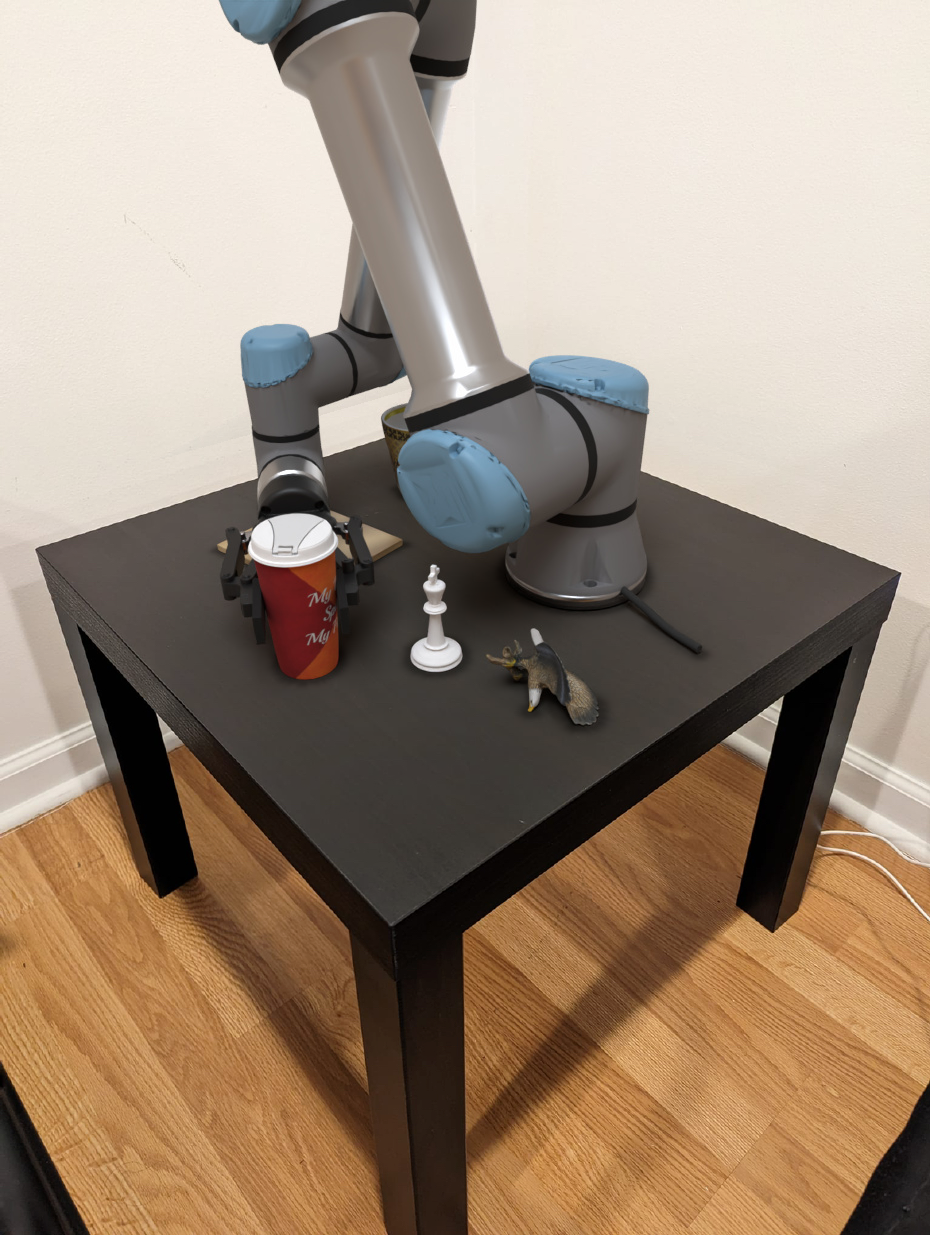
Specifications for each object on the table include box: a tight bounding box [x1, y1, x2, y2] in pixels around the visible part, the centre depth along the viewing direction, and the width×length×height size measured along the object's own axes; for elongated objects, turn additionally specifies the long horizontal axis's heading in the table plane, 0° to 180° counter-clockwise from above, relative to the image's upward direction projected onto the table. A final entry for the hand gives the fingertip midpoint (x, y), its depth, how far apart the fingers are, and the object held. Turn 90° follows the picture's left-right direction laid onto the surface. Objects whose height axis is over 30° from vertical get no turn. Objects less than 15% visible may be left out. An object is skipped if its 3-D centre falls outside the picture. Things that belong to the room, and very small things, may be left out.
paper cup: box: [248, 514, 340, 680], centre depth 78 cm, size 8×8×14 cm
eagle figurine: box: [485, 627, 600, 726], centre depth 75 cm, size 8×7×9 cm
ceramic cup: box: [380, 402, 410, 493], centre depth 111 cm, size 13×10×10 cm
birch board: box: [216, 509, 404, 565], centre depth 100 cm, size 16×14×1 cm
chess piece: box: [410, 564, 463, 673], centre depth 80 cm, size 5×5×10 cm
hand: (302, 625), depth 74 cm, fingers closed on paper cup, 7 cm apart
